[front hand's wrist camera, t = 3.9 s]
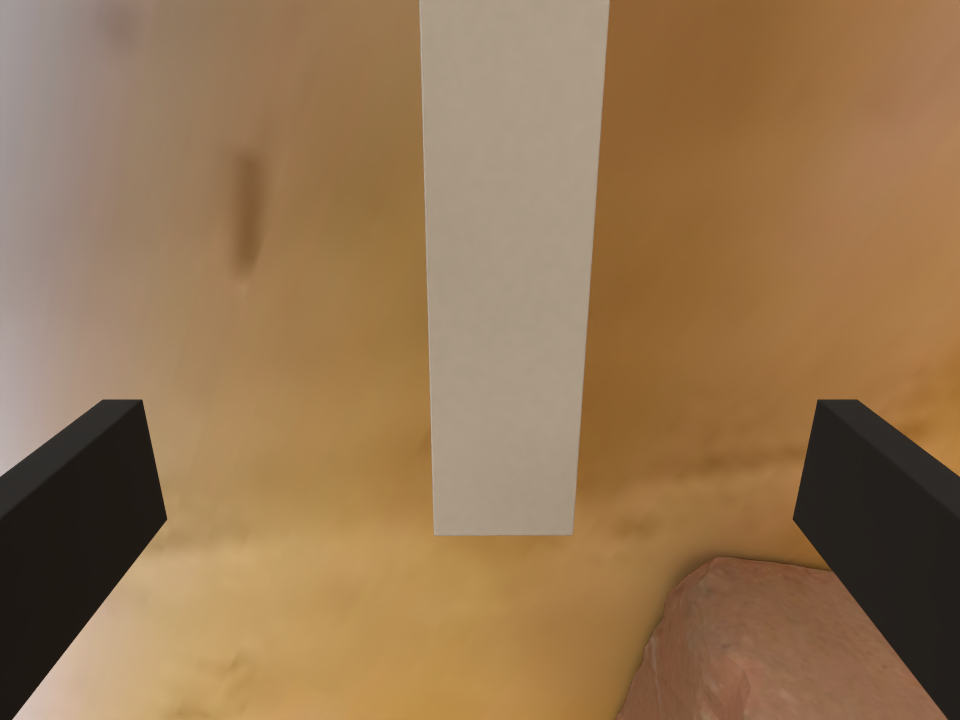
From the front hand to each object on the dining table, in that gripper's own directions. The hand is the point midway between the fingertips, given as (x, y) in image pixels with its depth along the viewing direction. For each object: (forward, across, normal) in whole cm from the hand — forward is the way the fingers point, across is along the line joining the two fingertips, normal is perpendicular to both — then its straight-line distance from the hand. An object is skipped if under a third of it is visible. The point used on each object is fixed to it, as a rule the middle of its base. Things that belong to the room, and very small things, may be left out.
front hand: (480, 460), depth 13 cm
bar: (+14, -1, -30) cm, 33 cm away
